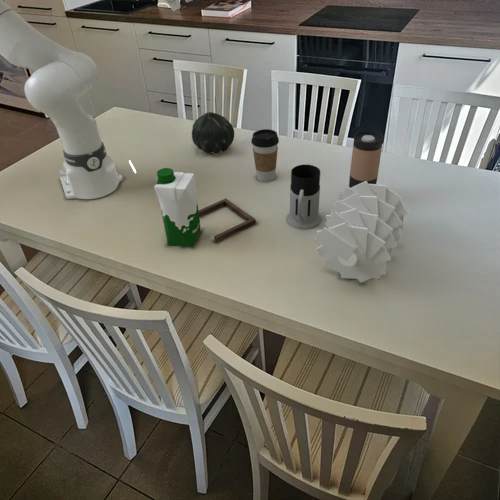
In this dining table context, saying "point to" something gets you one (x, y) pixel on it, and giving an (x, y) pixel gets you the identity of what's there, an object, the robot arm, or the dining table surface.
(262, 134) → the coffee cup
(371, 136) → the travel mug
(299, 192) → the glass holder
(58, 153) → the dining table surface
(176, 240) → the soya milk
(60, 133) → the robot arm
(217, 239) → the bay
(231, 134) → the squash
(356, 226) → the spiral staircase
